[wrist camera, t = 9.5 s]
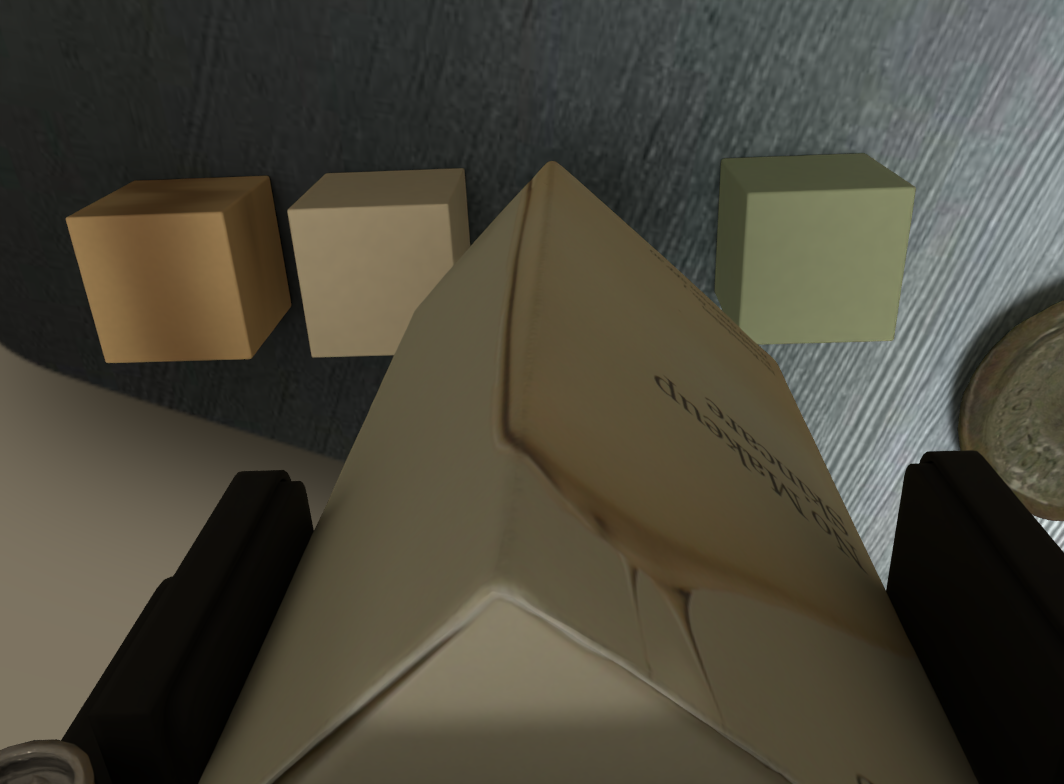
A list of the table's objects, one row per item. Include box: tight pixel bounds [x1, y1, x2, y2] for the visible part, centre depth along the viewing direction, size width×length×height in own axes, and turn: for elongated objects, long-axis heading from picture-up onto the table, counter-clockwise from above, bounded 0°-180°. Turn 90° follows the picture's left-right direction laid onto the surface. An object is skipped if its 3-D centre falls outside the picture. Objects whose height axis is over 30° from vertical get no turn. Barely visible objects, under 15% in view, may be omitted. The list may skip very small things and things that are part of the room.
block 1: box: [66, 176, 291, 363], centre depth 31 cm, size 5×5×5 cm
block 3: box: [715, 153, 916, 345], centre depth 30 cm, size 5×5×5 cm
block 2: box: [287, 168, 470, 357], centre depth 31 cm, size 5×5×5 cm
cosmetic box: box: [198, 161, 979, 784], centre depth 12 cm, size 6×4×12 cm
